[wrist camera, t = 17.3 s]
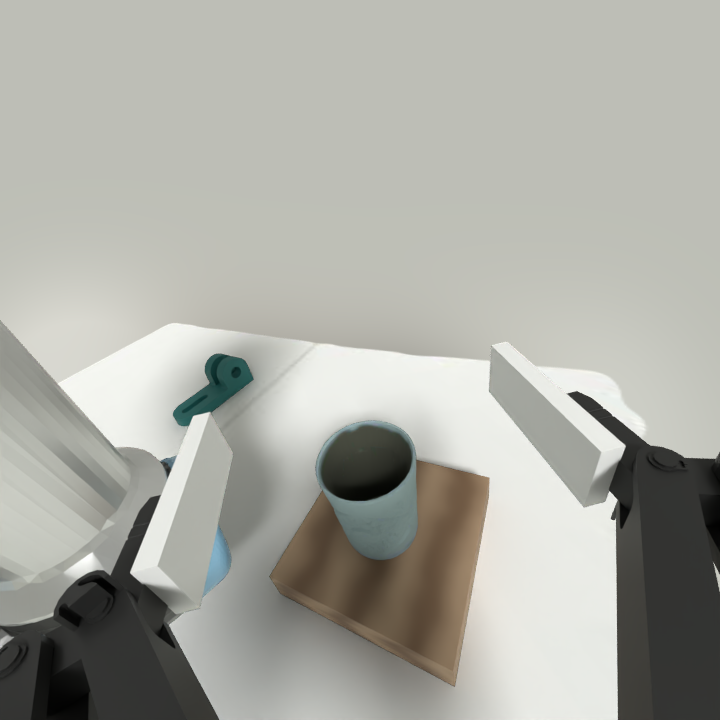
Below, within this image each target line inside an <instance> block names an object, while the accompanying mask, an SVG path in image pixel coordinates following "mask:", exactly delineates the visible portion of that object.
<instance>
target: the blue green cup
mask: <svg viewBox="0 0 720 720" xmlns="http://www.w3.org/2000/svg"><path fill="white" fill-rule="evenodd" d="M315 468H316V476H317V480H318V482H319V485H320V487H321V488H322V490H323V492H324V493H325V495H326V497H327V499H328V500H329V502H330V503H331V506H332V507H333V508H334V511H335V514H336V516H337V518H338V520H339V522H340V524H341V525H342V527H343V530H344V532H345V534H346V536H347V538H348V540H349V542H350V543H351V545H352V546H353V548H354V549H355V550H356V551H358V552H359V553H360V554H362V555H363V556H365V557H367V558H370V559H374V560H387V559H392V558H394V557H397V556H399V555H400V554H402V553H403V552H404V551H406V550H407V549H408V548H409V547H410V545H411V544H412V542H413V540H414V538H415V536H416V532H417V528H418V514H417V489H416V452H415V447H414V445H413V442H412V440H411V439H410V437H409V436H408V434H407V433H406V432H405V431H403V430H402V429H401V428H399V427H397V426H395V425H393V424H390V423H387V422H382V421H363V422H358V423H354V424H351V425H349V426H346V427H344V428H343V429H341V430H339V431H338V432H336V433H335V434H334V435H332V436H331V437H330V438H329V439H328V440H327V441H326V442H325V444H324V445H323V447H322V449H321V451H320V453H319V455H318V458H317V461H316V467H315Z"/></svg>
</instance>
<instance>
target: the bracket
mask: <svg viewBox="0 0 720 720" xmlns="http://www.w3.org/2000/svg"><path fill="white" fill-rule="evenodd" d="M205 374H206V376H207V378H208V380H209V382H210V384H209V385H207V386H206V387H205V388H203V389H202V390H200V391H199V392H197V393H196V394H195V395H193V396H192V397H190V398H189V399H188V400H186V401H185V402H183V403H182V404H180V405H179V406H178V407H177V408H176V409H175V410H174V412H173V416H174V418H175V419H176V421H177V423H178V424H179V425H181V426H189V425H190V423H191V420H192V418H193V416H196V415H200V414H204V413H208V412H210V413H211V412H212V411H213V410H215V409H216V408H217V407H219V406H220V405H221V404H222V403H224V402H225V401H226V400H228V399H229V398H230V397H231V396H233V395H234V394H235V393H237V392H238V391H239V390H240V389H242V388H243V387H244V386H246V385H247V384H248V383H249V382H251V381H252V380H253V377H252V374H251V372H250V370H249V367H248V365H247V363H246V362H245V361H244V360H243V359H241V358H237V357H233V356H228V355H224V354H215V355H213V356H211V357H210V358H209V359H208V360H207V362H206V365H205Z"/></svg>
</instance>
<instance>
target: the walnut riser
mask: <svg viewBox="0 0 720 720" xmlns="http://www.w3.org/2000/svg"><path fill="white" fill-rule="evenodd" d="M416 489H417V514H418V528H417V532H416V536H415V538H414V540H413V542H412V544H411V545H410V547H409V548H408V549H407V550H406V551H404V552H403V553H402V554H400V555H399V556H397V557H394V558H392V559H387V560H374V559H370V558H367V557H365V556H363V555H362V554H360V553H359V552H358V551H356V550H355V549H354V548H353V546H352V545H351V543H350V542H349V540H348V538H347V536H346V534H345V532H344V530H343V527H342V525H341V524H340V522H339V520H338V518H337V516H336V514H335V511H334V508H333V507H332V506H331V503H330V502H329V500H328V499H327V497H326V495H325V493H324V492H323V490H322V492H321V494H320V495H319V497H318V498H317V500H316V502H315V503H314V505H313V507H312V508H311V510H310V511H309V513H308V515H307V516H306V518H305V519H304V521H303V523H302V524H301V526H300V528H299V529H298V531H297V532H296V534H295V536H294V537H293V539H292V541H291V542H290V544H289V545H288V547H287V549H286V550H285V552H284V554H283V555H282V557H281V558H280V560H279V562H278V563H277V565H276V567H275V568H274V570H273V571H272V573H271V575H270V576H269V577H270V578H271V580H272V581H273V583H274V584H275V586H276V587H277V589H278V590H279V592H280V593H281V594H282V595H284V596H286V597H288V598H290V599H292V600H294V601H296V602H297V603H299V604H301V605H303V606H305V607H307V608H309V609H310V610H312V611H314V612H316V613H318V614H320V615H322V616H324V617H325V618H327V619H329V620H331V621H333V622H335V623H337V624H338V625H340V626H342V627H344V628H346V629H348V630H350V631H352V632H353V633H355V634H357V635H359V636H361V637H363V638H365V639H367V640H368V641H370V642H372V643H374V644H376V645H378V646H380V647H381V648H383V649H385V650H387V651H389V652H391V653H393V654H395V655H396V656H398V657H400V658H402V659H404V660H406V661H408V662H409V663H411V664H413V665H415V666H417V667H419V668H421V669H423V670H424V671H426V672H428V673H430V674H432V675H434V676H436V677H437V678H439V679H441V680H443V681H445V682H447V683H449V684H451V685H452V686H454V687H455V682H456V676H457V671H458V665H459V660H460V654H461V649H462V643H463V637H464V632H465V626H466V621H467V615H468V610H469V604H470V598H471V593H472V587H473V582H474V576H475V571H476V565H477V560H478V554H479V548H480V543H481V537H482V532H483V526H484V521H485V515H486V510H487V504H488V498H489V478H488V477H484V476H480V475H476V474H472V473H468V472H463V471H459V470H455V469H451V468H447V467H443V466H439V465H434V464H430V463H426V462H422V461H418V460H416Z"/></svg>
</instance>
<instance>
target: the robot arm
mask: <svg viewBox="0 0 720 720" xmlns="http://www.w3.org/2000/svg"><path fill="white" fill-rule="evenodd" d="M489 392H490V393H491V394H492V396H493V397H494V398H495V399H496V401H497V402H498V403H499V404H500V405H501V407H502V408H503V409H504V410H505V412H506V413H507V414H508V415H509V416H510V418H511V419H512V420H513V421H514V423H515V424H516V425H517V426H518V427H519V429H520V430H521V431H522V432H523V434H524V435H525V436H526V437H527V438H528V440H529V441H530V442H531V443H532V445H533V446H534V447H535V448H536V449H537V451H538V452H539V453H540V454H541V456H542V457H543V458H544V459H545V460H546V462H547V463H548V464H549V465H550V467H551V468H552V469H553V470H554V471H555V473H556V474H557V475H558V476H559V478H560V479H561V480H562V481H563V482H564V484H565V485H566V486H567V487H568V489H569V490H570V491H571V492H572V493H573V495H574V496H575V497H576V498H577V500H578V501H579V502H580V503H581V504H582V506H583V507H587V506H591V505H595V504H598V503H602V502H605V501H606V498H607V495H608V493H609V491H610V492H611V493H612V494H613V495H614V496H615V497H616V498H617V499H618V501H617V503H616V506H615V508H614V511H613V513H612V516H611V519H612V520H615V518H616V564H617V667H618V720H720V592H719V587H718V582H717V578H716V573H715V568H714V564H715V566H716V568H717V570H718V572H719V574H720V453H719V455H718V456H717V458H716V459H700V458H699V459H698V458H684V457H683V456H681V455H679V454H678V453H676V452H674V451H672V450H669V449H666V448H663V447H657V446H650V445H649V444H647V443H646V442H645V441H644V440H642V439H641V438H640V437H639V436H637V435H636V434H635V433H634V432H633V431H631V430H630V429H629V428H628V427H626V426H625V425H624V424H623V423H622V422H620V421H619V420H618V419H617V418H615V417H613V416H612V414H611V413H609V412H608V411H607V410H606V409H603V407H602V406H601V405H600V404H598V403H597V402H596V401H595V400H593V399H592V398H590V397H588V396H586V395H584V394H582V393H580V392H577V391H576V392H572V393H568V394H566V393H565V392H564V391H563V390H562V389H560V388H559V387H558V386H557V385H556V384H555V383H554V382H553V381H551V380H550V379H549V378H548V377H547V376H546V375H545V374H543V373H542V372H541V371H540V370H539V369H538V368H537V367H535V366H534V365H533V364H532V363H531V362H530V361H529V360H527V359H526V358H525V357H524V356H523V355H522V354H521V353H519V352H518V351H517V350H516V349H515V348H514V347H513V346H512V345H510V344H509V343H508V342H502V343H498V344H494V345H491V360H490V381H489ZM232 458H233V452H232V450H231V449H230V447H229V445H228V443H227V441H226V440H225V438H224V436H223V434H222V432H221V431H220V429H219V427H218V425H217V423H216V422H215V420H214V418H213V416H212V414H211V413H210V412H208V413H204V414H200V415H196V416H193V418H192V420H191V423H190V425H189V428H188V430H187V433H186V435H185V438H184V440H183V442H182V445H181V447H180V450H179V452H178V455H177V456H174V457H171V458H166V459H164V460H161V461H159V460H158V459H157V458H156V457H154V456H153V455H152V454H151V453H149V452H147V451H145V450H142V449H138V448H131V447H117V448H115V447H114V446H113V445H112V444H111V443H110V442H109V440H108V439H107V438H106V437H105V436H104V435H103V434H102V433H101V432H100V430H99V429H98V428H97V427H96V426H95V425H94V424H93V423H92V422H91V420H90V419H89V418H88V417H87V416H86V415H85V414H84V413H83V412H82V410H81V409H80V408H79V407H78V406H77V405H76V404H75V403H74V402H73V400H72V399H71V398H70V397H69V396H68V395H67V394H66V393H65V392H64V390H63V389H62V388H61V387H60V386H59V385H58V384H57V383H56V382H55V380H54V379H53V378H52V377H51V376H50V375H49V374H48V373H47V372H46V370H44V368H43V367H42V366H41V365H40V364H39V363H38V362H37V361H36V359H35V358H34V357H33V356H32V355H31V354H30V353H29V352H28V351H27V349H26V348H25V347H24V346H23V345H22V344H21V343H20V342H19V340H18V339H17V338H16V337H15V336H14V335H13V334H12V333H11V332H10V331H9V329H7V327H6V326H5V325H4V324H3V323H2V322H1V321H0V720H219V718H218V716H217V715H216V713H215V711H214V709H213V707H212V705H211V703H210V702H209V700H208V698H207V696H206V694H205V692H204V690H203V689H202V687H201V685H200V683H199V681H198V679H197V677H196V676H195V674H194V672H193V670H192V668H191V666H190V664H189V663H188V661H187V659H186V657H185V655H184V653H183V651H182V649H181V648H180V646H179V644H178V642H177V640H176V638H175V636H174V635H173V633H172V631H171V629H170V627H169V624H170V623H172V622H173V621H174V620H175V619H177V618H178V617H179V616H180V615H182V614H183V613H184V612H188V611H191V610H195V609H199V608H200V605H201V601H202V598H203V597H204V596H205V595H206V594H207V593H208V592H209V591H210V590H212V589H213V588H214V587H215V586H216V585H217V584H218V583H219V582H220V581H222V580H223V579H224V578H225V576H226V575H227V573H228V571H229V569H230V566H231V554H230V550H229V548H228V545H227V542H226V540H225V538H224V535H223V533H222V531H221V529H220V527H219V525H218V522H219V518H220V513H221V509H222V504H223V499H224V495H225V490H226V486H227V481H228V476H229V472H230V467H231V462H232ZM713 562H714V564H713Z"/></svg>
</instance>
